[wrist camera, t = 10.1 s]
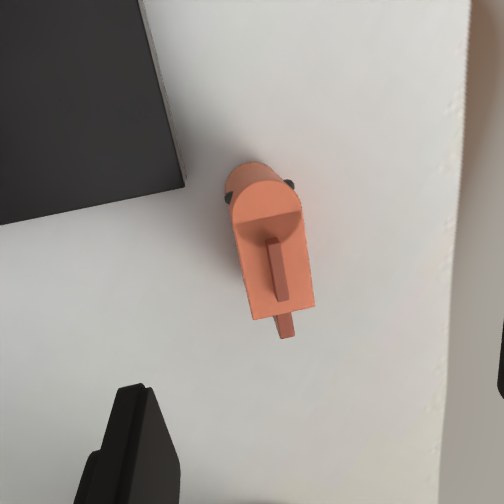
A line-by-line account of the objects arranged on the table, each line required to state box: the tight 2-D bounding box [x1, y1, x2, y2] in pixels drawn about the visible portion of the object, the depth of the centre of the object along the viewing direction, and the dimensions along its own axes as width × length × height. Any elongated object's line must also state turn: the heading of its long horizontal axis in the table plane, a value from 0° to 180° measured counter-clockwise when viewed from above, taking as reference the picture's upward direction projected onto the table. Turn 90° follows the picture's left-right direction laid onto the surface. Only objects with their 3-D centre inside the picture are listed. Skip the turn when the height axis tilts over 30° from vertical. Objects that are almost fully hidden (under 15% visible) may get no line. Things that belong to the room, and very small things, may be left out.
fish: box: [225, 162, 315, 339], centre depth 20 cm, size 8×3×6 cm, turn 10°
